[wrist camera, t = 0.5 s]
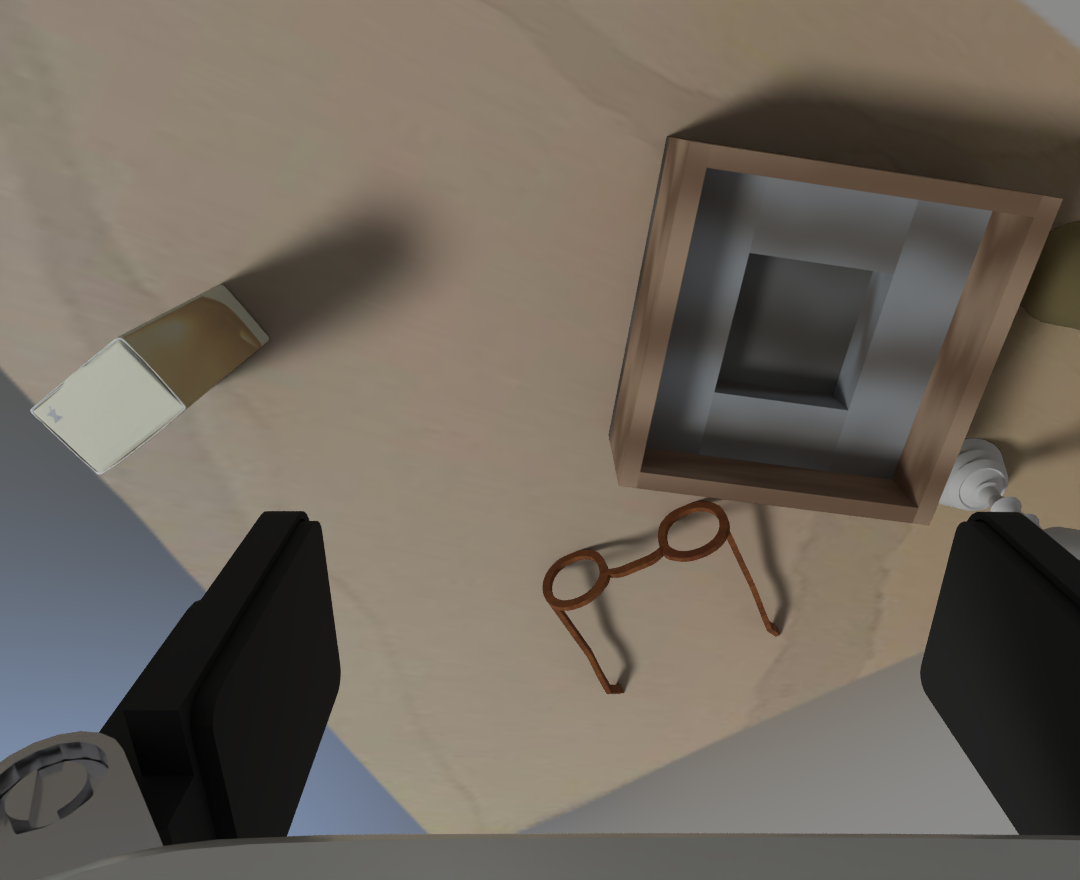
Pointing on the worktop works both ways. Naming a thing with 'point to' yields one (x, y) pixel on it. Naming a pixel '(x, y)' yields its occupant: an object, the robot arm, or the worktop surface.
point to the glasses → (637, 565)
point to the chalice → (992, 489)
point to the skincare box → (149, 377)
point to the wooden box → (816, 329)
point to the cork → (1057, 279)
